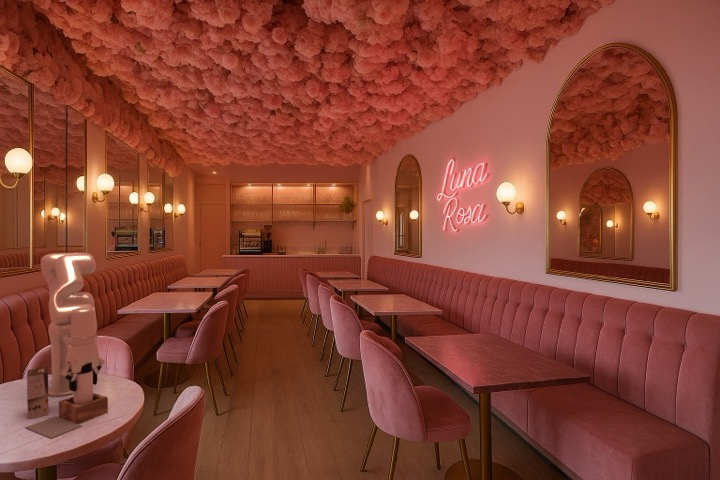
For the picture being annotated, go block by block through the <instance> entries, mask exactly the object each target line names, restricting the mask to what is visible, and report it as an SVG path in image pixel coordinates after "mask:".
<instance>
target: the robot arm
mask: <svg viewBox="0 0 720 480" xmlns="http://www.w3.org/2000/svg"><path fill="white" fill-rule="evenodd" d="M96 266H97V263H96V260H95V258H94V256H93V255H92V254H90V253H88V252H55V253H48V254H46V255H43V256H42V257H41V259H40V269H41V272H42V276H43V277H44V280H45V281H46V283H47V286H48V294H49V300H48V310H49V317H50V321H51V322H50V323H49V325H48V335H49V341H50V347H51V348H50V349H51V351H50V352H51V353H50V354H51V355H50V356H51V380H50V381H49V383H50V384H51V388H48V397H64V396H65V397H66V396H69V395H73V391H74V392H75V391H76V390H77V381H76V380H75V378H76V376H77V374H78V373H79V372H81V368H82V366H85V365H87V364H89V363H92V369H93V386H94V385H95V386H96V385H97V384H98V374H100V371H101V369H102V368H103V366H104V365H105V363H106V360H104V359H103V358H100V355H99V349H98V348H99V347H98V343H97V342H96V339H97V338H99V336H98V334H96V333H97V331H98V322H97V321H98V320H97V314H96V305H95V299H94V296H93V294H91V293H90V292H88V291H81V290H83V288H84V286H85V284H84V278H83V276H82V275H87V274H88V275H89V274H93V273H94V272H95V271H96V269H97V267H96ZM80 291H81V292H80Z"/></svg>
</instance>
